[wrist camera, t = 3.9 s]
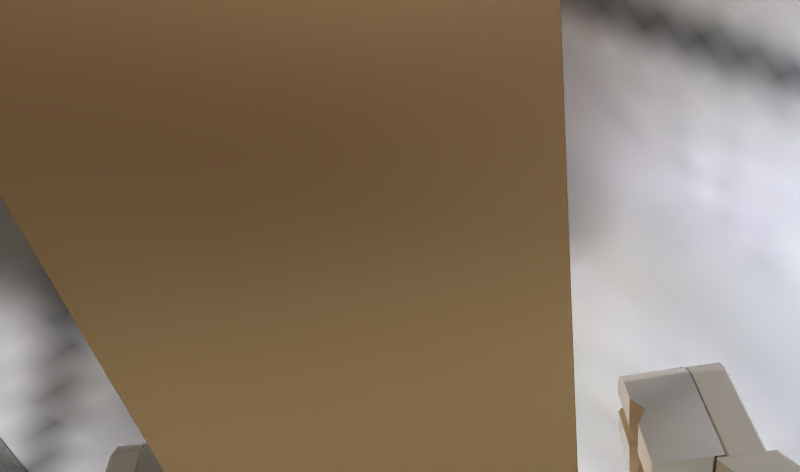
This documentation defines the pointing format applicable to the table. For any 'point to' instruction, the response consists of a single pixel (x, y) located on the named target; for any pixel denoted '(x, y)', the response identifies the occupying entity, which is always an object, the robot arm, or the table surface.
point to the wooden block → (305, 224)
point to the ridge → (9, 460)
